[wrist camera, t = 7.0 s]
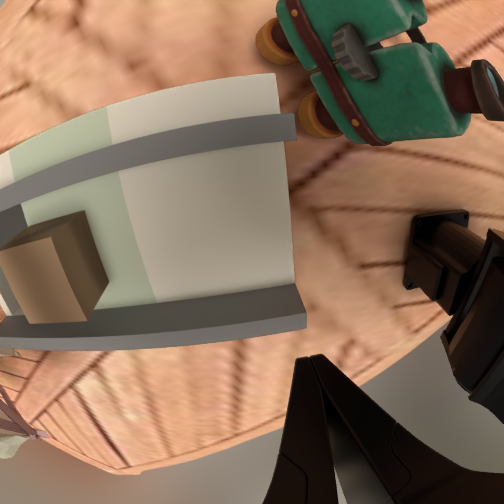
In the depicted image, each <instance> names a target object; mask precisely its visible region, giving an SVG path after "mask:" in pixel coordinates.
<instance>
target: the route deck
mask: <svg viewBox="0 0 504 504" xmlns="http://www.w3.org/2000/svg"><path fill="white" fill-rule="evenodd" d="M293 140H297V136H296V126H295V117H294V113H282V114H280V106H279V98H278V90H277V83H276V75H275V73H266V74H254V75H244V76H236V77H228V78H221V79H214V80H208V81H202V82H197V83H191V84H186V85H182V86H177V87H172V88H168V89H164V90H160V91H156V92H152V93H148V94H144V95H141V96H137V97H134V98H130V99H127V100H124V101H120V102H117V103H114V104H111V105H108V106H105V107H102V108H100V109H97V110H94V111H91V112H89V113H86V114H83V115H81V116H78V117H76V118H73V119H71V120H69V121H66V122H64V123H62V124H59V125H57V126H55V127H53V128H50V129H48V130H46V131H44V132H42V133H40V134H38V135H36V136H34V137H32V138H30V139H28V140H26V141H24V142H22V143H21V144H19V145H17V146H15V147H13V148H11V149H10V150H8V151H6V152H5V153H3V154H1V155H0V248H1V247H3V246H4V245H5V244H6V243H8V242H9V241H10V240H11V239H13V238H14V237H15V236H17V235H18V234H19V233H21V232H22V231H23V230H25V229H26V228H27V227H29V226H31V225H34V224H37V223H40V222H44V221H47V220H50V219H54V218H57V217H61V216H64V215H68V214H71V213H75V212H79V211H82V210H85V213H86V216H87V220H88V223H89V226H90V229H91V233H92V236H93V239H94V242H95V245H96V247H97V250H98V253H99V256H100V259H101V261H102V264H103V267H104V270H105V272H106V275H107V277H108V280H109V284H108V285H107V287H106V289H105V291H104V292H103V294H102V296H101V297H100V299H99V301H98V303H97V304H96V306H95V308H94V310H93V312H92V313H91V315H90V317H89V319H88V321H78V322H60V323H35V324H30V323H29V322H28V320H27V318H26V316H25V314H24V313H23V311H22V309H21V307H20V305H19V303H18V301H17V300H16V298H15V296H14V294H13V292H12V290H11V288H10V285H9V283H8V281H7V279H6V277H5V275H4V272H3V270H2V268H1V265H0V305H1V307H2V309H3V310H4V312H5V314H6V317H5V319H4V320H3V321H2V323H1V324H0V348H12V349H27V350H50V351H109V350H134V349H151V348H165V347H177V346H188V345H198V344H207V343H216V342H224V341H231V340H239V339H246V338H253V337H259V336H266V335H272V334H278V333H284V332H289V331H295V330H300V329H306V328H307V313H306V310H305V307H304V305H303V302H302V300H301V297H300V295H299V292H298V290H297V287H296V285H295V275H294V258H293V243H292V229H291V216H290V203H289V191H288V180H287V170H286V160H285V150H284V141H293Z"/></svg>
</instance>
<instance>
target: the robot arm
mask: <svg viewBox="0 0 504 504" xmlns="http://www.w3.org/2000/svg"><path fill="white" fill-rule="evenodd" d="M418 221H419V223H418ZM468 221H469V212H468V211H466V210H456V211H448V212H440V213H432V214H424V215H417V216H415V217H414V218H413V220H412V227H411V236H410V244H409V251H408V258H407V264H406V271H405V277H404V283H403V286H404V287H405V288H406V290H411V289H415V288H419V287H420V288H421V290H422V291H423V292H424V293H425V294H426V295H427V296H428V297H429V298H430V299H431V300H432V301H436V302H437V303H438V304H439V305H440V306H441V307H442V308H443V309H444V311H445V312H446V313H447V314H448V315H449V316H451V315H453V314H454V315H453V317H452V318H451V320H450V322H449V324H448V326H447V328H446V329H445V330H444V331H443V333H442V334H441V336H440V337H441V340H442V343H443V345H444V348H445V350H446V354H447V356H448V359H449V362H450V365H451V368H452V372H453V375H454V377H455V379H456V381H457V383H458V384H459V385H460V386H461V387H462V388H463V389H464V390H465V391H467V392H468V393H470V395H469V396H468V398H469V400H471V401H473V402H476V403H478V404H481V405H482V406H484V407H485V408H487V409H489V410H490V411H491V412H492V413H493V414H494V415H495V416H496V417H497V418H498V419H499V420H500V421H501V422H502V423H503V424H504V232H502V231H498V230H495V229H491V228H489V229H488V232H487V235H486V236H487V238H486V241H485V240H484V239H482V238H481V237H479V236H478V235H476V234H475V233H473V232H472V231H470V230H469V229H467V227H468ZM417 223H418V224H417ZM409 283H410V284H409ZM408 284H409V285H408ZM334 467H335V470H336V473H337V476H338V479H339V482H340V484H341V487H342V490H343V493H344V496H345V499H346V502H347V504H504V473H488V472H479V471H473V470H469V469H466V468H463V467H461V466H459V465H458V464H456V463H454V462H452V461H451V460H449V459H448V458H446V457H444V456H443V455H441V454H439V453H438V452H436V451H435V450H433V449H432V448H430V447H429V446H427V445H425V444H424V443H423V442H421V441H420V440H419V439H417V438H416V437H415V436H413V435H412V434H411V433H410V432H409V431H407V430H406V429H405V428H404V427H403V426H402V425H400V424H399V423H398V422H397V423H396V420H395V419H393V418H392V417H391V416H390V415H389V414H388V413H387V412H385V410H383V409H382V408H381V407H380V406H379V405H378V404H377V403H376V402H374V401H373V400H372V399H371V398H370V397H369V396H368V395H367V394H366V393H364V392H363V391H362V390H361V389H360V388H359V387H358V386H357V385H356V384H355V383H354V382H352V381H351V380H350V379H349V378H348V377H347V376H346V375H345V374H344V373H343V372H342V371H341V370H339V369H338V368H337V367H336V366H335V365H334V364H333V363H332V362H331V361H330V360H329V359H328V358H327V357H325V356H324V355H323V354H317V355H312V356H310V357H307V356H306V357H301V358H297V359H296V360H295V366H294V373H293V379H292V385H291V391H290V397H289V402H288V408H287V413H286V419H285V424H284V429H283V434H282V439H281V444H280V449H279V454H278V458H277V462H276V467H275V470H274V473H273V477H272V481H271V484H270V486H269V489H268V491H267V494H266V496H265V499H264V501H263V503H262V504H338V495H337V487H336V480H335V472H334Z"/></svg>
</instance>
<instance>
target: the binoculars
mask: <svg viewBox="0 0 504 504" xmlns="http://www.w3.org/2000/svg"><path fill="white" fill-rule="evenodd" d="M276 13H277V18H273V19H271V20H270V21H268V22H267V23H266V24H265V25H264V26H263V27H262V28H261V29H260V30H259V31H258V33H257V35H256V46H257V49H258V51H259V52H260V54H261V55H262V56H263V57H264V58H266V59H267V60H269V61H270V62H273V63H275V64H280V65H289V64H293V63H295V62H297V61H300V62H301V64H302V66H303V67H304V69H305V70H306V71H312V70H314V69H316V68H319V69H320V70H319V71H317V72H315V73H313V74H311V75H310V79H311V81H312V83H313V85H314V87H315V89H316V91H314V92H311V93H309V94H307V95H306V96H305V97H304V98H303V99H302V100H301V102H300V105H299V109H298V117H299V121H300V123H301V125H302V127H303V128H304V130H305V131H306V132H307V133H308V134H310V135H311V136H313V137H316V138H322V139H325V138H333V137H338V136H340V135H342V134H344V135H345V136H346V137H347V138H348V139H349V140H350V141H352V142H354V143H356V144H370V145H372V146H386V145H389V144H391V143H392V142H395V141H405V140H417V139H430V138H448V137H456V136H461V135H462V134H463V133H464V132H465V131H466V130H467V128H468V126H469V124H470V121H471V113H475V114H483V115H484V116H485V118H486V119H487V120H490V121H504V81H503V80H502V78H501V77H500V75H499V74H498V72H497V71H496V69H495V68H494V67H493V66H492V65H491V64H490V63H489V62H488V61H487V60H485V59H481V60H473V61H472V63H471V67H467V68H458V69H456V68H455V66H454V64H453V62H452V60H451V59H450V57H449V55H448V54H447V53H446V51H445V50H444V49H443V48H442V47H441V46H440V45H439V44H437V43H427V42H426V40H425V38H424V36H423V34H422V33H421V31H420V30H419V28H418V27H419V26H421V25H423V24H425V23H426V22H427V13H426V9H425V6H424V3H423V1H422V0H278V2H277V5H276ZM405 31H406V33H407V34H408V36H409V37H410V39H411V40H412V42H411V43H402V44H398V45H394V46H389V47H385V48H383V46H381V44H380V41H383V40H385V39H388V38H390V37H393V36H395V35H398V34H400V33H402V32H405ZM335 60H339V62H338V63H336V64H333V62H332V61H335Z"/></svg>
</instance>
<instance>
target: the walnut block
mask: <svg viewBox="0 0 504 504" xmlns="http://www.w3.org/2000/svg"><path fill="white" fill-rule="evenodd" d="M0 265H1V268H2V270H3V272H4V275H5V277H6V279H7V281H8V283H9V285H10V288H11V290H12V292H13V294H14V296H15V298H16V300H17V301H18V303H19V305H20V307H21V309H22V311H23V313H24V314H25V316H26V318H27V320H28V322H29V323H30V324H35V323H60V322H78V321H88V319H89V317H90V315H91V313H92V312H93V310H94V308H95V306H96V304H97V303H98V301H99V299H100V297H101V296H102V294H103V292H104V291H105V289H106V287H107V285H108V284H109V280H108V277H107V275H106V272H105V270H104V267H103V264H102V261H101V259H100V256H99V253H98V250H97V247H96V245H95V242H94V239H93V236H92V233H91V229H90V226H89V223H88V220H87V216H86V213H85V210H82V211H79V212H75V213H71V214H68V215H64V216H61V217H57V218H54V219H50V220H47V221H44V222H40V223H37V224H34V225H31V226H29V227H27V228H26V229H25V230H23V231H22V232H21V233H19V234H18V235H17V236H15V237H14V238H13V239H11V240H10V241H9V242H8V243H6V244H5V245H4V246H3V247H1V248H0Z"/></svg>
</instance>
